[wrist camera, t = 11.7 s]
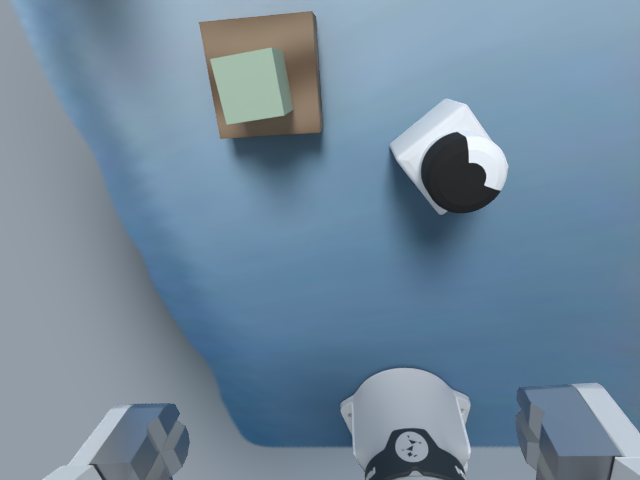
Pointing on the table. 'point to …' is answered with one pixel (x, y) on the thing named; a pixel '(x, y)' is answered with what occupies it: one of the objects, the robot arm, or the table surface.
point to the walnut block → (300, 59)
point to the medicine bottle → (451, 159)
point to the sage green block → (253, 85)
